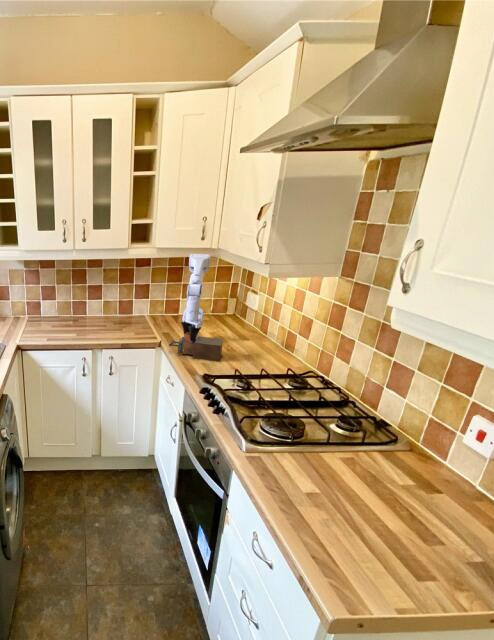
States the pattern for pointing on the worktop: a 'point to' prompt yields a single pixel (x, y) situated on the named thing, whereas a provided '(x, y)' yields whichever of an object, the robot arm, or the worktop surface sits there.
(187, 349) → the drawer
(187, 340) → the block
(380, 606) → the worktop surface
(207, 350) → the cabinet
